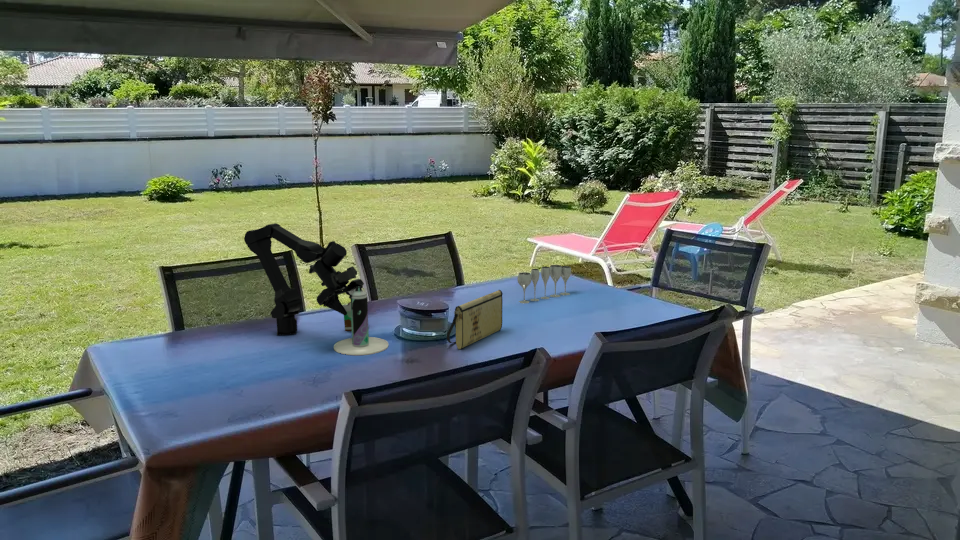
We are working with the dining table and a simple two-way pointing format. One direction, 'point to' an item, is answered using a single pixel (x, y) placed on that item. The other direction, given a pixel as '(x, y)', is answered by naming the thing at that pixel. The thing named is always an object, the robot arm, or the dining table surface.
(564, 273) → the goblet set
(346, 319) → the food container
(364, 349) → the cream round disc
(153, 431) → the dining table surface
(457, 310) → the clutch purse
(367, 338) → the spray can
